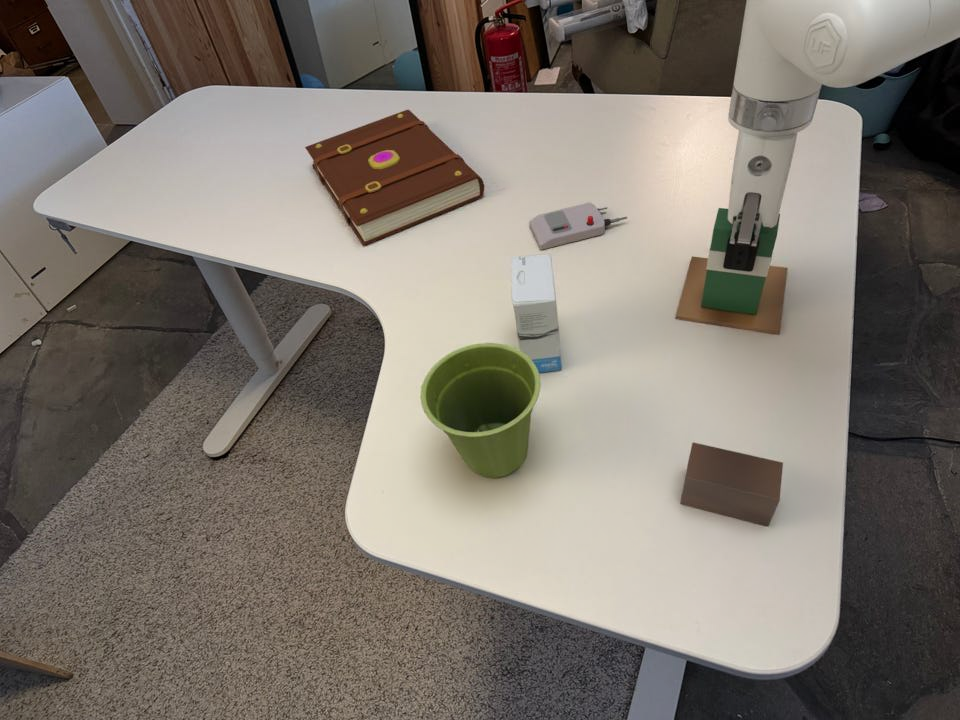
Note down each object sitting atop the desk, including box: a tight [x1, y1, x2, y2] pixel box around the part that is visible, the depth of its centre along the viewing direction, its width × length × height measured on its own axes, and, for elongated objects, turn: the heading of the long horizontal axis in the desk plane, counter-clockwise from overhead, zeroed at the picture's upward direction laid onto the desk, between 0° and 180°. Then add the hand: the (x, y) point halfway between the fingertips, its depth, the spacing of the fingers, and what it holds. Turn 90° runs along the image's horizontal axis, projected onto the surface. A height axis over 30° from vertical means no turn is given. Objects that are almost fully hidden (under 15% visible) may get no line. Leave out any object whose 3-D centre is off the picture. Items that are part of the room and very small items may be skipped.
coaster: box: [675, 256, 788, 336], centre depth 77 cm, size 12×12×1 cm
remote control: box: [520, 202, 628, 251], centre depth 91 cm, size 7×16×3 cm, turn 102°
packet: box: [701, 207, 781, 315], centre depth 71 cm, size 9×7×12 cm
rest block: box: [679, 442, 784, 528], centre depth 57 cm, size 8×4×5 cm, turn 68°
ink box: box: [510, 252, 562, 374], centre depth 72 cm, size 8×5×12 cm, turn 179°
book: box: [304, 109, 485, 247], centre depth 108 cm, size 23×32×5 cm
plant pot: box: [420, 342, 542, 479], centre depth 63 cm, size 12×12×11 cm
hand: (740, 254), depth 71 cm, fingers closed on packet, 4 cm apart
